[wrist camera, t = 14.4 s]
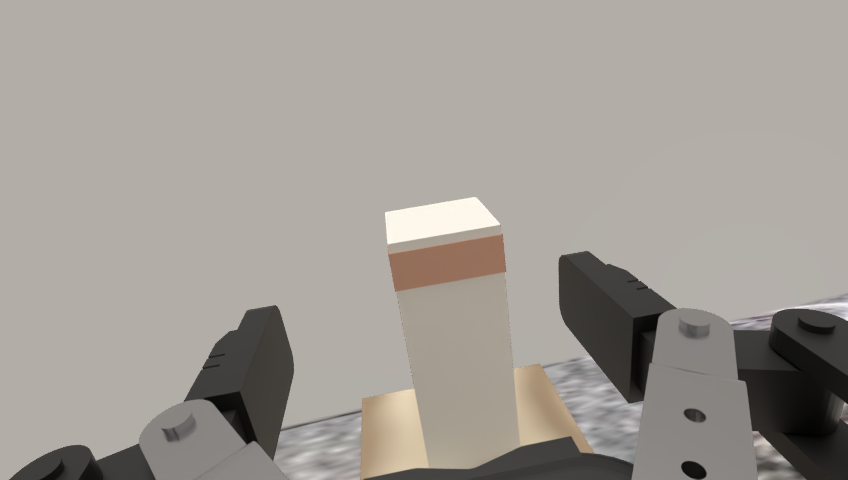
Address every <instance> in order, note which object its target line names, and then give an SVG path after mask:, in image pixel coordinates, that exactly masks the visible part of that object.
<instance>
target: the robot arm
mask: <svg viewBox="0 0 848 480" xmlns="http://www.w3.org/2000/svg"><path fill="white" fill-rule="evenodd" d="M559 305H560V311H561V315H562V318H563V320H564V322H565V324H566V326H567V327H568V328H569V329H570V331H571V332H572V333H573V334H574V336H575V337H576V338H577V339H578V341H579V342H580V343H581V344H582V345H583V347H584V348H585V349H586V351H587V352H588V353H589V354H590V356H591V357H592V358H593V359H594V361H595V362H596V363H597V364H598V366H599V367H600V368H601V369H602V371H603V372H604V373H605V374H606V376H607V377H608V378H609V379H610V381H611V382H612V383H613V384H614V386H615V387H616V388H617V389H618V391H619V392H620V393H621V394H622V396H623V397H624V398H625V399H626V401H627V402H628V403H634V402H639V401H644V403H643V409H642V416H641V422H640V428H639V435H638V441H637V448H636V454H635V460H634V464H631V463H629V462H627V461H624V460H620V459H617V458H614V457H610V456H606V455H601V454H594V453H581V452H580V451H579V449H578V447H577V445H576V444H575V442H574V440H573V438H572V437H571V436H568V437H564V438H559V439H554V440H549V441H544V442H539V443H535V444H530V445H525V446H521V447H519V448H517V449H514V450H512V451H510V452H508V453H506V454H504V455H502V456H499V457H497V458H495V459H493V460H491V461H489V462H487V463H484V464H482V465H480V466H478V467H475V468H472V469H441V468H413V469H409V470H404V471H399V472H394V473H389V474H384V475H380V476H375V477H370V478H365V479H364V480H758V475H757V467H756V459H755V451H754V442H753V434H752V431H759V433H760V434H761V435H762V436H763V437H764V438H765V439H766V440H767V441H768V442H769V443H770V444H771V445H772V446H773V447H774V448H775V449H776V450H777V451H778V452H779V453H780V454H781V455H782V456H783V457H784V458H785V459H786V460H787V461H788V462H789V463H790V464H791V465H792V466H794V467H795V468H796V469H797V470H798V471H799V472H800V473H801V474H802V475H803V476H804V477H805V478H806V479H807V480H848V425H847V424H846V423H845V422H844V421H842V420H841V419H840V416H841V412H842V409H843V405H844V402H846V403H847V404H848V321H846V320H844V319H842V318H840V317H837V316H835V315H832V314H829V313H825V312H821V311H816V310H809V309H786V310H782V311H779V312H777V313H775V314H774V316H773V318H772V323H771V329H770V331H753V330H733V329H732V327H731V325H730V324H729V323H728V322H727V321H726V320H724V319H723V318H721V317H719V316H717V315H715V314H712V313H709V312H706V311H702V310H697V309H686V308H682V309H677V308H676V307H674V306H673V305H672V304H670V303H669V302H668V301H666V300H665V299H664V298H662V297H661V296H659V295H658V294H657V293H656V292H654V291H653V290H652V289H648V286H646V285H645V284H644V283H642V282H641V281H638V279H637V278H636V277H634V276H633V275H632V274H630V273H629V272H628V271H626V270H624V269H621V268H618V267H616V266H613V265H610V264H607V265H605V264H604V263H603V262H601V261H600V260H599V259H598V258H596V257H595V256H594V255H592V254H591V253H590V252H588V251H584V252H579V253H573V254H567V255H562V256H561V257H560V259H559ZM293 374H294V363H293V356H292V351H291V348H290V345H289V341H288V338H287V334H286V331H285V327H284V324H283V321H282V317H281V314H280V311H279V309H278V307H277V306H276V305H274V306H268V307H262V308H257V309H251V310H247V312H246V313H245V315H244V318H243V319H242V321H241V323H240V325H239V327H238V329H237V330H234V331H230V332H228V333H227V334H226V335H225V336H224V337H223V338H221V340H219V341H218V342H217V343H216V344H215V346H214V348H213V349H212V351H211V353H210V355H209V359H207V360H206V362H205V364H204V366H203V370H201V371H200V373H199V375H198V377H197V378H196V380H195V382H194V384H193V386H192V387H191V389H190V391H189V393H188V395H187V397H186V399H185V400H184V402H183V403H180V404H177V405H175V406H173V407H171V408H169V409H167V410H165V411H164V412H162V413H161V414H159V415H158V416H156V417H155V418H154V419H153V420H152V421H151V422H150V423H149V424H148V425H147V426H146V427H145V428H144V430H143V432H142V433H141V435H140V438H139V444H137V445H135V446H132V447H130V448H127V449H125V450H122V451H120V452H117V453H115V454H112V455H110V456H107V457H105V458H102V459H100V460H97V461H96V460H95V458H94V456H93V454H92V452H91V451H90V449H89V448H88V447H86V446H82V445H72V446H67V447H63V448H60V449H57V450H54V451H52V452H50V453H48V454H45V455H43V456H41V457H40V458H38V459H36V460H34V461H33V462H31V463H30V464H28V465H27V466H25V467H24V468H22V469H21V470H20V471H19V472H17V473H16V474H15V475H14V476H13V477H12V478H11V479H10V480H289V479H288V478H287V477H286V476H285V475H284V473H283V472H282V471H281V470H280V469H279V468H278V466H277V465H276V464H275V463H274V462H273V460H274V455H275V451H276V447H277V443H278V438H279V434H280V430H281V426H282V421H283V417H284V413H285V409H286V404H287V400H288V396H289V391H290V387H291V383H292V379H293Z"/></svg>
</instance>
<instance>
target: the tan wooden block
mask: <svg viewBox="0 0 848 480" xmlns="http://www.w3.org/2000/svg"><path fill="white" fill-rule="evenodd" d="M513 371H514V382H515V394H516V405H517V416H518V428H519V439H520V447H521V446H525V445H530V444H535V443H539V442H544V441H549V440H554V439H559V438H564V437H568V436H571V437H572V438H573V440H574V442H575V444H576V445H577V447H578V449H579V451H580V452H581V453H594V452H593V450H592V449H591V447H590V445H589V444H588V442H587V440H586V439H585V437H584V436H583V434H582V432H581V431H580V429H579V427H578V426H577V424H576V422H575V421H574V419H573V417H572V416H571V414H570V413H569V411H568V409H567V408H566V406H565V404H564V403H563V401H562V399H561V398H560V396H559V394H558V393H557V391H556V389H555V388H554V386H553V385H552V383H551V381H550V380H549V378H548V376H547V375H546V373H545V371H544V370H543V368H542V366H541V365H540V364H535V365H530V366H525V367H520V368H515V369H513ZM413 468H429V464H428V459H427V453H426V448H425V443H424V437H423V432H422V427H421V421H420V416H419V410H418V405H417V400H416V394H415V389H409V390H403V391H398V392H394V393H389V394H383V395H378V396H373V397H368V398H363V399H362V430H361V472H360V480H364V479H365V478H370V477H375V476H380V475H384V474H389V473H394V472H399V471H404V470H409V469H413Z"/></svg>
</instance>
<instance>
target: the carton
mask: <svg viewBox="0 0 848 480" xmlns="http://www.w3.org/2000/svg"><path fill="white" fill-rule="evenodd" d="M385 219H386V231H387V242H388V243H387V244H388V255H389V260H390V266H391V271H392V277H393V282H394V287H395V291H396V292H397V298H398V303H399V309H400V314H401V319H402V325H403V330H404V335H405V341H406V346H407V351H408V357H409V362H410V368H411V373H412V378H413V384H414V389H415V394H416V400H417V405H418V410H419V416H420V421H421V427H422V432H423V437H424V443H425V448H426V453H427V459H428V464H429V468H441V469H472V468H475V467H478V466H480V465H482V464H484V463H487V462H489V461H491V460H493V459H495V458H497V457H499V456H502V455H504V454H506V453H508V452H510V451H512V450H514V449H517V448H519V447H520V439H519V428H518V416H517V405H516V394H515V382H514V371H513V360H512V348H511V338H510V326H509V314H508V303H507V292H506V280H505V272H506V266H505V255H504V243H503V234H502V233H501V225H500V223H499V222H498V221H497V220H496V219H495V218H494V217H493V216H492V215H491V213H490V212H489V211H488V210H487V209H486V208H485V207H484V205H483V204H482V203H481V202H480V201H479V200H478V199H477V198H476V197H472V198H466V199H461V200H455V201H449V202H443V203H437V204H431V205H425V206H420V207H413V208H407V209H402V210H396V211H390V212H385Z"/></svg>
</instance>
